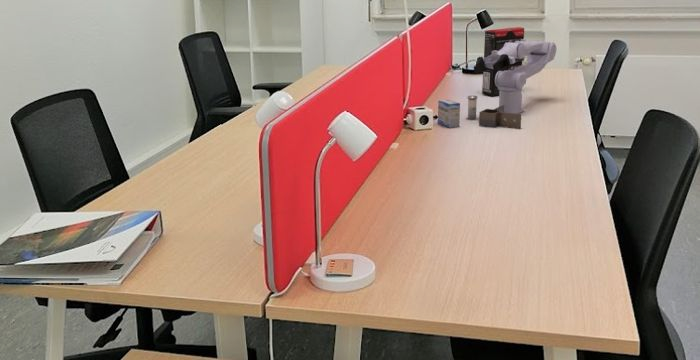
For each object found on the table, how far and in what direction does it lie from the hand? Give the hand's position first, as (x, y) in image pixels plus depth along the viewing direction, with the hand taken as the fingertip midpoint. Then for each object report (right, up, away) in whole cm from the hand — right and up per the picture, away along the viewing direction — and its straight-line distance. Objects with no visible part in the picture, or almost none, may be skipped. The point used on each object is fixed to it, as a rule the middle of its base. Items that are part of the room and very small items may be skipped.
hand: (484, 68), depth 268 cm
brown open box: (+6, -20, +1) cm, 21 cm away
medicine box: (-12, -20, +5) cm, 23 cm away
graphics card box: (+17, -2, +57) cm, 60 cm away
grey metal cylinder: (-2, -16, +13) cm, 21 cm away
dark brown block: (+5, -18, +6) cm, 20 cm away
